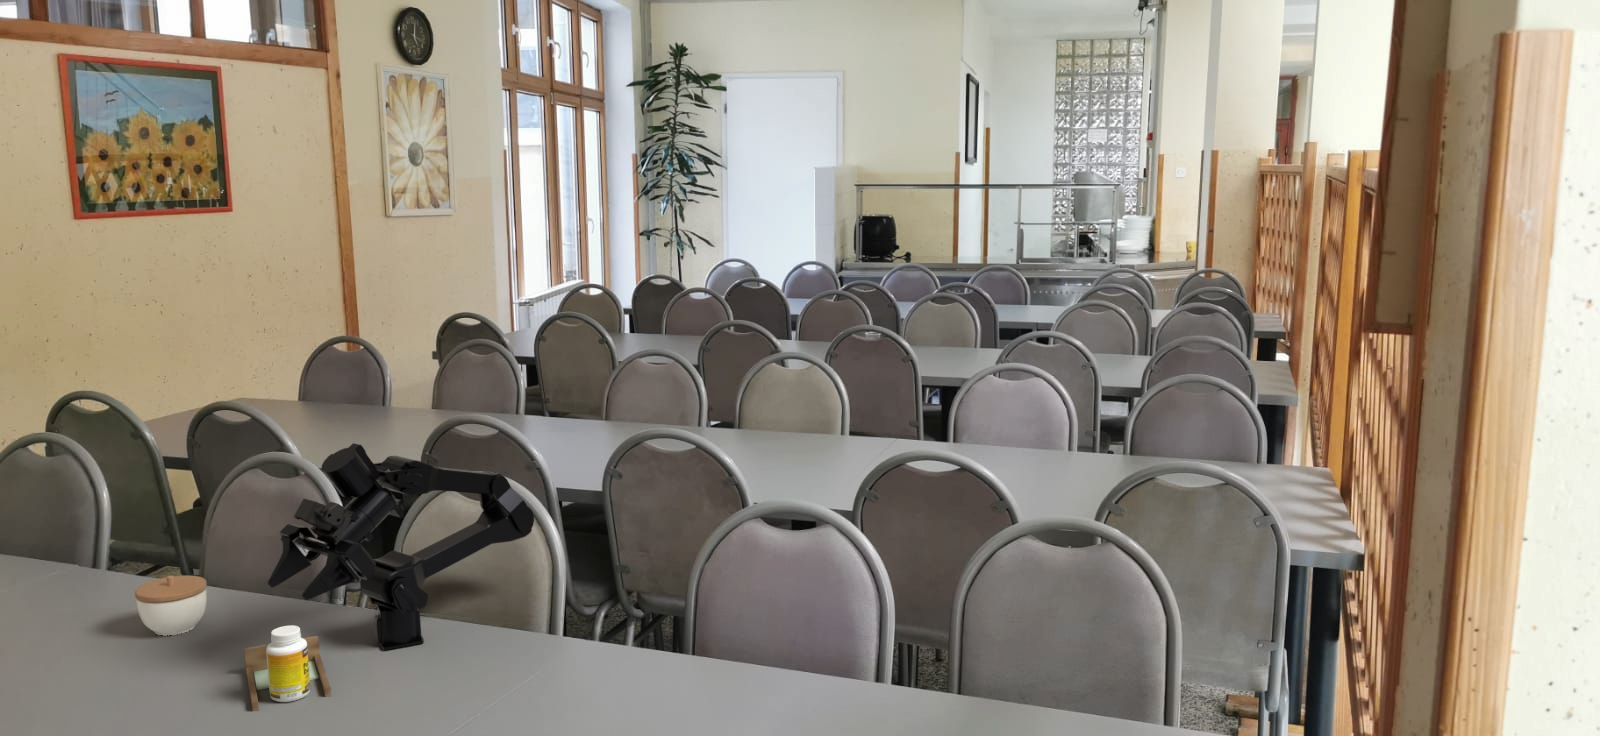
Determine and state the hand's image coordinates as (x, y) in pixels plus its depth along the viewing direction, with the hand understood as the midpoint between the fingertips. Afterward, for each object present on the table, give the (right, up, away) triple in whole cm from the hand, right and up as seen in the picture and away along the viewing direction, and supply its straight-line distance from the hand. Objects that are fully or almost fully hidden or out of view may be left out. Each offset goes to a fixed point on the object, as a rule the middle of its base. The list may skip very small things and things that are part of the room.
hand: (286, 591), depth 176 cm
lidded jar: (-29, -11, +23) cm, 39 cm away
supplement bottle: (+2, -15, -3) cm, 15 cm away
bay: (0, -14, +1) cm, 14 cm away
